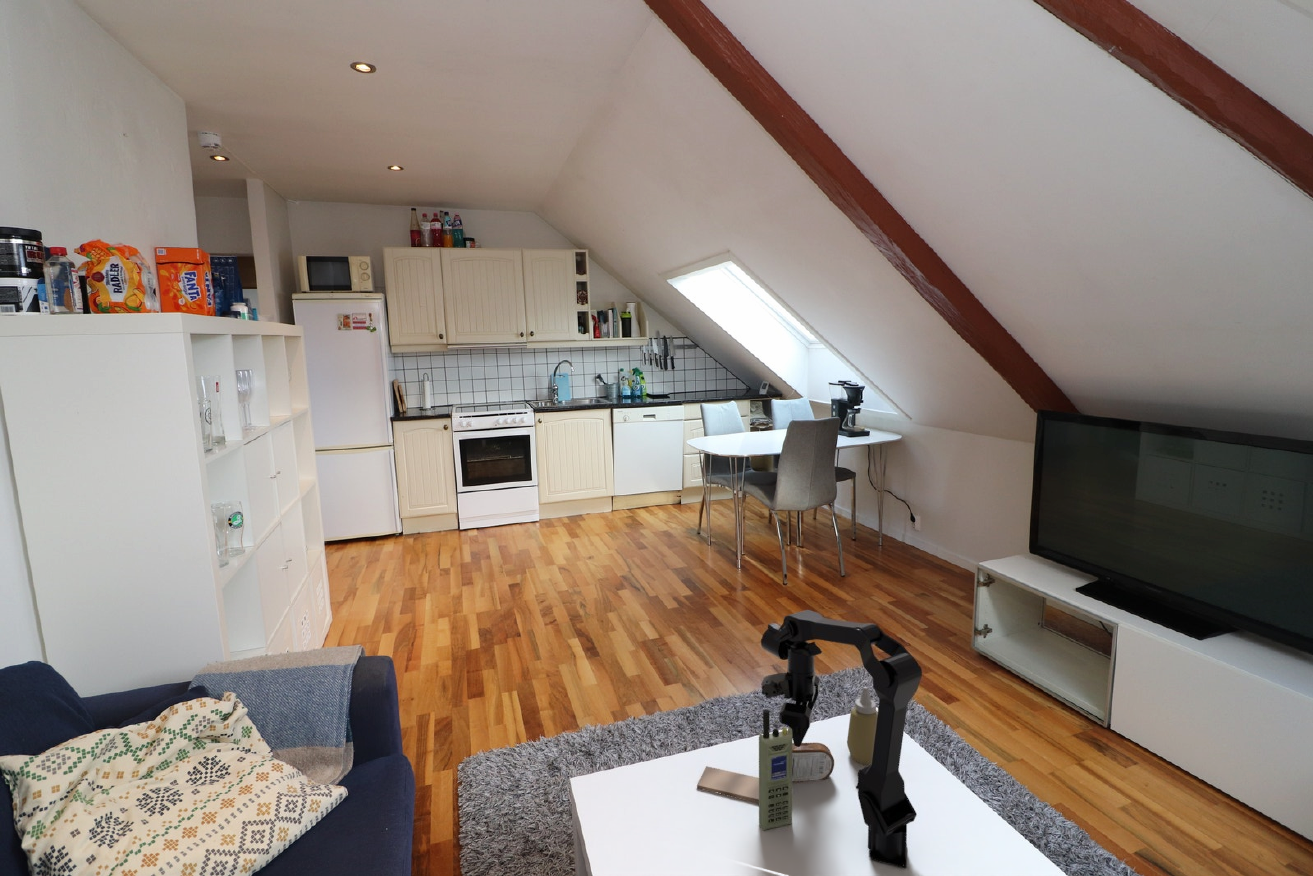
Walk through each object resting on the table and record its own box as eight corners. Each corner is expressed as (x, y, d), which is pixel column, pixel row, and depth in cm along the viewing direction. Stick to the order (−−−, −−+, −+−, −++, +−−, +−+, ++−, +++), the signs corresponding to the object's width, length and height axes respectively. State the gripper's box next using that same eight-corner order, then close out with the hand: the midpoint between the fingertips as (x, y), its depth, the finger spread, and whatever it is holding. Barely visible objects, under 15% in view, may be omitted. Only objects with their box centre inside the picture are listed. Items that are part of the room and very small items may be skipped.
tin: (829, 774, 144) (831, 740, 143) (834, 783, 141) (837, 748, 140) (765, 777, 142) (767, 742, 142) (769, 786, 139) (771, 750, 138)
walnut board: (775, 786, 140) (775, 781, 140) (768, 807, 134) (768, 801, 134) (706, 771, 146) (706, 766, 146) (697, 790, 140) (696, 785, 140)
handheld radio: (763, 833, 126) (763, 716, 124) (757, 822, 130) (756, 707, 127) (794, 826, 128) (794, 710, 125) (786, 815, 131) (787, 702, 129)
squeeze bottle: (887, 771, 145) (889, 697, 143) (852, 771, 145) (853, 697, 143) (875, 749, 153) (877, 679, 151) (842, 750, 153) (843, 679, 151)
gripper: (772, 645, 150) (772, 707, 152) (755, 682, 133) (755, 751, 135) (820, 652, 146) (820, 715, 148) (809, 690, 129) (808, 762, 131)
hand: (800, 734), depth 140 cm, fingers open, 9 cm apart
